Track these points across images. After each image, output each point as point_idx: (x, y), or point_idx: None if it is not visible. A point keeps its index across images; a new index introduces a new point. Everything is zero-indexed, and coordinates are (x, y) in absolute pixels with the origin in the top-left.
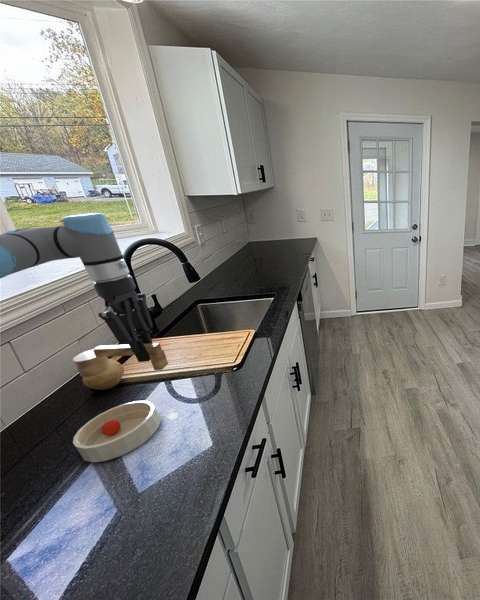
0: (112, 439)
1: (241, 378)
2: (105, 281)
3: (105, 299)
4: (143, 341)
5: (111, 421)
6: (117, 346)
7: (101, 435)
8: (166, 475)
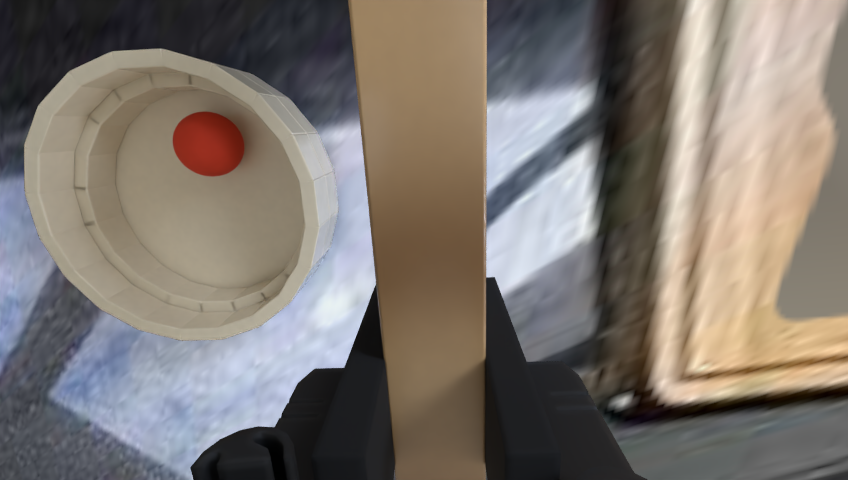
0: None
1: None
2: None
3: None
4: (490, 436)
5: (200, 156)
6: (418, 81)
7: (209, 95)
8: (103, 430)
